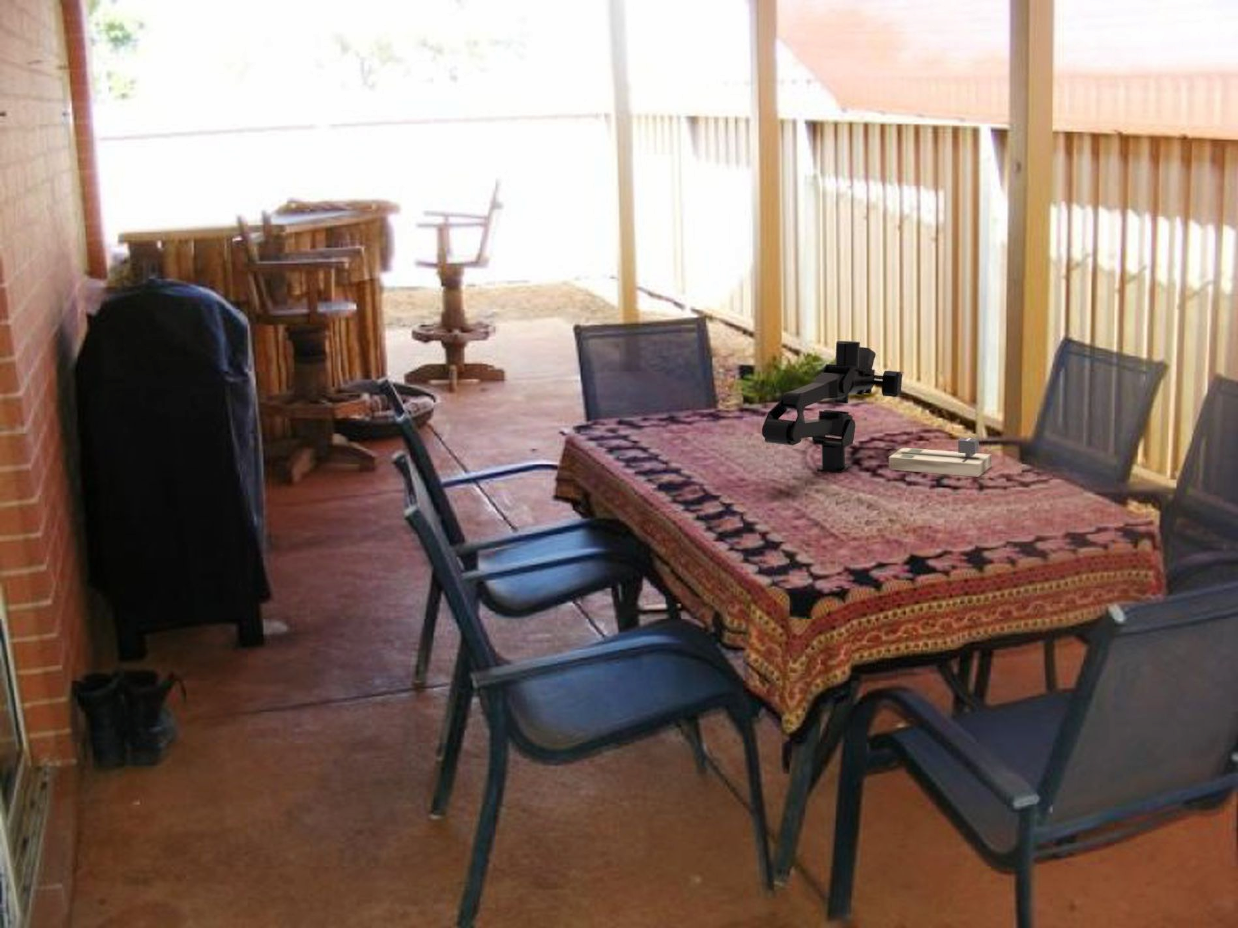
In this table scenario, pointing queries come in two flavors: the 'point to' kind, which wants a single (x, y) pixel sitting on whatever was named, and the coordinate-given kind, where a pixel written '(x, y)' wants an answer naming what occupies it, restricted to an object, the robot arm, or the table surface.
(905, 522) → the table surface
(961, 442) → the fader knob
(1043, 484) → the table surface
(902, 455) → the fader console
